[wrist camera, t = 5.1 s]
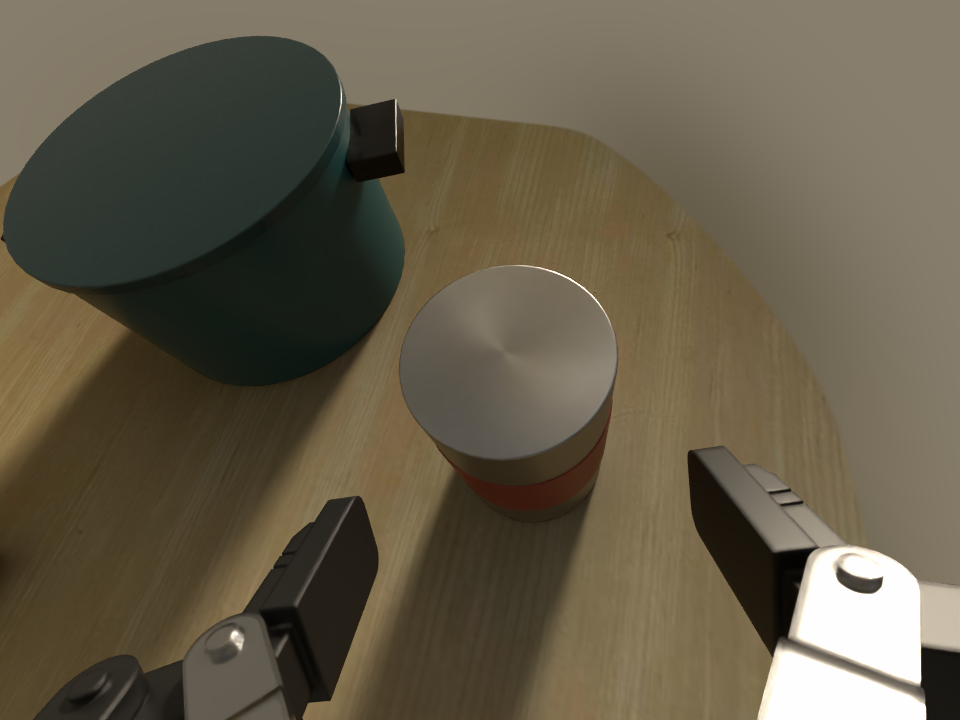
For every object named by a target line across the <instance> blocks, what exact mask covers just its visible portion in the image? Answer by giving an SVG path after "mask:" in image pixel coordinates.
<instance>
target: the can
mask: <svg viewBox="0 0 960 720" xmlns="http://www.w3.org/2000/svg"><path fill="white" fill-rule="evenodd" d="M617 366H618V346H617V341H616V336H615V332H614V330H613V327H612V324H611V322H610V320H609V318H608V316H607V314H606V312H605V311H604V309H603V308H602V306H601V305H600V304H599V302H598V301H597V300H596V299H595V298H594V297H593V296H592V295H591V294H590V293H589V292H588V291H587V290H586V289H584V288H583V287H582V286H581V285H579V284H578V283H576V282H575V281H573V280H571V279H570V278H568V277H566V276H564V275H561V274H559V273H557V272H554V271H551V270H547V269H544V268H539V267H533V266H524V265H506V266H498V267H492V268H487V269H483V270H480V271H477V272H474V273H471V274H468V275H466V276H464V277H462V278H460V279H458V280H456V281H454V282H452V283H451V284H449V285H448V286H446V287H445V288H443V289H442V290H441V291H439V292H438V293H437V294H435V295H434V296H433V297H432V298H431V299H430V300H429V301H428V302H427V303H426V304H425V305H424V307H423V308H422V309H421V310H420V311H419V313H418V314H417V316H416V317H415V319H414V320H413V322H412V323H411V325H410V327H409V330H408V332H407V334H406V336H405V339H404V342H403V345H402V350H401V355H400V363H399V376H400V385H401V389H402V393H403V397H404V399H405V402H406V404H407V407H408V409H409V410H410V412H411V414H412V415H413V417H414V419H415V420H416V421H417V422H418V424H419V425H420V426H421V427H422V429H423V430H424V431H425V432H426V433H427V435H428V436H429V437H430V438H431V439H432V441H433V442H434V443H435V444H436V446H437V448H438V449H439V451H440V452H441V453H442V455H443V456H444V457H445V458H446V460H447V461H448V462H449V463H450V464H451V465H452V467H453V468H454V469H455V470H456V471H457V472H458V474H459V475H460V476H461V477H462V478H463V480H464V481H465V482H466V483H467V484H468V485H469V486H470V487H471V488H472V489H473V490H474V491H475V492H476V493H477V494H478V495H479V497H480V498H481V499H482V500H483V501H484V502H485V503H486V504H487V505H488V506H489V507H491V508H492V509H494V510H495V511H496V512H498V513H500V514H502V515H504V516H506V517H509V518H512V519H515V520H520V521H526V522H540V521H546V520H551V519H554V518H557V517H560V516H562V515H564V514H566V513H568V512H569V511H571V510H572V509H574V508H575V507H577V506H578V505H579V504H580V503H581V502H582V501H583V500H584V499H585V497H586V496H587V495H588V494H589V492H590V491H591V489H592V487H593V486H594V483H595V481H596V479H597V476H598V473H599V469H600V464H601V460H602V456H603V452H604V449H605V443H606V438H607V433H608V427H609V422H610V417H611V410H612V397H613V391H614V385H615V380H616V374H617Z"/></svg>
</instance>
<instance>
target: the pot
mask: <svg viewBox="0 0 960 720" xmlns="http://www.w3.org/2000/svg"><path fill="white" fill-rule="evenodd" d="M404 172H405V168H404V123H403V117H402V114H401V111H400V108H399V105H398V103H397V100H396V99H393V100H389V101H384V102H380V103H376V104H371V105H367V106H363V107H358V108H354V109H351V110H350V115H349V113H348V111H347V109H346V96H345V92H344V88H343V85H342V82H341V80H340V78H339V76H338V74H337V72H336V70H335V68H334V66H333V65H332V64H331V63H330V62H329V60H328V59H327V58H326V57H325V56H324V55H322V54H321V53H320V52H319V51H317V50H316V49H314V48H312V47H310V46H308V45H306V44H304V43H301V42H298V41H295V40H291V39H287V38H280V37H272V36H249V37H238V38H231V39H224V40H219V41H215V42H210V43H206V44H202V45H199V46H195V47H192V48H189V49H186V50H183V51H180V52H177V53H175V54H172V55H169V56H167V57H165V58H162V59H160V60H157V61H155V62H153V63H151V64H149V65H147V66H145V67H143V68H141V69H139V70H137V71H135V72H133V73H131V74H129V75H128V76H126V77H124V78H122V79H121V80H119V81H117V82H115V83H114V84H112V85H111V86H109V87H108V88H106V89H105V90H103V91H102V92H100V93H98V94H97V95H96V96H95V97H93V98H92V99H91V100H89V101H88V102H86V103H85V104H84V105H82V106H81V107H80V108H79V109H77V110H76V111H75V112H74V113H73V114H71V115H70V116H69V117H68V118H67V119H66V120H65V121H64V122H62V123H61V124H60V126H58V127H57V128H56V130H54V131H53V132H52V133H51V134H50V135H49V136H48V138H47V139H46V140H45V141H44V142H43V143H42V144H41V145H40V147H39V148H38V149H37V150H36V152H35V153H34V154H33V155H32V157H31V158H30V159H29V161H28V162H27V164H26V165H25V167H24V168H23V170H22V172H21V173H20V175H19V176H18V178H17V180H16V182H15V184H14V186H13V189H12V191H11V193H10V196H9V199H8V202H7V205H6V208H5V214H4V221H3V230H4V233H3V235H2V237H1V240H2V241H4V242H5V243H6V246H7V249H8V252H9V253H10V255H11V256H12V258H13V260H14V261H15V263H16V264H17V265H18V266H19V267H20V268H22V269H23V270H24V271H25V272H26V273H27V274H29V275H30V276H32V277H34V278H35V279H37V280H39V281H41V282H42V283H44V284H46V285H48V286H50V287H52V288H55V289H58V290H61V291H65V292H68V293H73V294H75V295H76V296H78V297H80V298H81V299H83V300H84V301H86V302H88V303H89V304H91V305H92V306H94V307H95V308H97V309H99V310H100V311H102V312H103V313H105V314H107V315H108V316H110V317H111V318H113V319H115V320H116V321H118V322H119V323H121V324H122V325H124V326H126V327H127V328H129V329H130V330H132V331H134V332H135V333H137V334H138V335H140V336H141V337H143V338H145V339H146V340H148V341H149V342H151V343H153V344H154V345H156V346H157V347H159V348H161V349H162V350H164V351H165V352H167V353H168V354H170V355H172V356H173V357H175V358H176V359H178V360H180V361H181V362H183V363H184V364H186V365H187V366H189V367H191V368H192V369H194V370H195V371H197V372H199V373H200V374H202V375H204V376H206V377H208V378H210V379H213V380H216V381H218V382H221V383H226V384H232V385H238V386H259V385H268V384H274V383H279V382H283V381H287V380H291V379H294V378H296V377H299V376H302V375H305V374H307V373H309V372H312V371H314V370H316V369H318V368H320V367H322V366H324V365H326V364H327V363H329V362H330V361H332V360H334V359H335V358H337V357H339V356H340V355H341V354H343V353H344V352H345V351H347V350H348V349H349V348H351V347H352V346H353V345H354V344H355V343H357V342H358V341H359V340H360V339H361V338H362V337H363V336H364V335H365V334H366V333H367V332H368V331H369V330H370V329H371V328H372V326H373V325H374V324H375V323H376V322H377V321H378V319H379V318H380V317H381V315H382V314H383V312H384V311H385V309H386V308H387V306H388V305H389V303H390V301H391V299H392V297H393V295H394V293H395V292H396V289H397V286H398V284H399V281H400V278H401V274H402V269H403V265H404V252H405V249H404V239H403V235H402V231H401V228H400V225H399V223H398V221H397V219H396V216H395V214H394V212H393V210H392V208H391V205H390V203H389V201H388V199H387V197H386V194H385V192H384V190H383V188H382V186H381V183H380V181H379V179H378V178H382V177H387V176H392V175H396V174H401V173H404Z"/></svg>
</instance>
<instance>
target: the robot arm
mask: <svg viewBox="0 0 960 720" xmlns="http://www.w3.org/2000/svg"><path fill="white" fill-rule="evenodd" d="M688 473H689V486H690V499H691V510H692V516H693V520H694V523H695V526H696V529H697V532H698V534H699V536H700V537H701V539H702V541H703V542H704V544H705V546H706V547H707V549H708V551H709V552H710V554H711V556H712V557H713V559H714V561H715V562H716V564H717V566H718V567H719V569H720V571H721V572H722V574H723V576H724V577H725V579H726V581H727V582H728V584H729V586H730V587H731V589H732V591H733V592H734V594H735V596H736V597H737V599H738V601H739V602H740V604H741V606H742V607H743V609H744V611H745V612H746V614H747V616H748V617H749V619H750V621H751V622H752V624H753V626H754V627H755V629H756V631H757V632H758V634H759V636H760V637H761V639H762V641H763V642H764V644H765V646H766V647H767V649H768V651H769V652H770V654H771V656H772V657H773V661H772V665H771V669H770V673H769V676H768V680H767V684H766V688H765V691H764V695H763V699H762V703H761V706H760V710H759V714H758V718H757V720H960V585H953V584H944V583H935V582H927V581H921V580H916V579H915V578H914V576H913V575H912V574H911V573H910V572H909V571H908V570H907V569H906V568H905V567H904V566H902V565H901V564H899V563H898V562H896V561H895V560H893V559H891V558H889V557H887V556H885V555H883V554H881V553H878V552H875V551H873V550H870V549H866V548H862V547H857V546H851V545H848V544H847V543H846V542H845V541H844V540H843V539H842V538H841V537H840V536H839V535H838V534H837V533H836V532H835V531H834V530H833V529H832V528H831V527H830V526H829V525H828V524H827V523H826V522H825V521H823V520H822V519H821V518H820V517H819V516H818V515H817V514H816V513H815V512H814V511H813V510H812V509H811V508H810V507H809V506H808V505H807V504H804V503H803V500H802V499H801V498H800V497H799V496H798V495H796V494H795V493H794V492H791V489H790V488H789V487H788V486H787V485H786V484H785V483H784V482H783V481H782V480H781V479H780V478H779V477H778V476H777V475H776V474H774V473H771V472H769V471H767V470H765V469H763V468H761V467H759V466H757V465H755V464H748V465H742V464H741V463H740V462H739V461H738V460H737V459H736V458H735V457H734V456H733V455H732V453H731V452H730V451H729V450H728V449H727V448H726V447H724V446H717V447H710V448H703V449H696V450H690V451H689V452H688ZM377 571H378V549H377V545H376V542H375V538H374V535H373V531H372V528H371V525H370V521H369V518H368V515H367V511H366V508H365V505H364V502H363V500H362V498H361V497H359V496H353V497H346V498H339V499H332V500H329V501H327V503H326V504H325V506H324V507H323V509H322V511H321V512H320V514H319V515H318V517H317V519H316V520H315V522H311V523H309V524H307V525H306V526H305V527H304V528H303V529H302V530H301V531H299V532H298V533H297V534H296V535H295V536H294V537H293V538H292V539H291V541H290V542H289V544H288V545H287V547H286V548H285V550H284V551H283V552H282V556H280V557H279V558H278V560H277V561H276V563H275V564H274V569H271V570H270V572H269V573H268V575H267V576H266V578H265V579H264V581H263V582H262V584H261V585H260V587H259V588H258V590H257V591H256V593H255V594H254V596H253V597H252V599H251V600H250V602H249V603H248V605H247V606H246V608H245V609H244V611H243V612H242V613H240V614H236V615H233V616H230V617H228V618H226V619H224V620H222V621H220V622H218V623H216V624H215V625H213V626H212V627H210V628H209V629H208V630H206V631H205V632H204V633H203V634H201V635H200V636H199V637H198V638H197V639H196V640H195V642H194V643H193V644H192V645H191V646H190V648H189V649H188V651H187V653H186V655H185V657H184V659H183V660H180V661H177V662H175V663H172V664H169V665H166V666H164V667H161V668H158V669H156V670H153V671H150V672H147V673H145V674H144V673H143V671H142V669H141V667H140V665H139V663H138V661H137V659H136V658H135V657H134V656H131V655H119V656H115V657H111V658H108V659H106V660H103V661H101V662H99V663H97V664H95V665H93V666H91V667H90V668H88V669H86V670H85V671H83V672H82V673H80V674H79V675H77V676H76V677H75V678H73V679H72V680H71V681H69V682H68V683H67V684H66V685H65V686H64V687H63V688H61V689H60V690H59V691H58V692H57V693H56V694H55V696H54V697H53V698H52V699H51V700H50V701H49V702H48V703H47V704H46V706H45V707H44V708H43V709H42V710H41V711H40V712H39V713H38V714H37V716H36V717H35V718H34V719H33V720H303V718H302V716H303V714H304V712H305V709H306V707H307V704H308V703H311V702H322V701H331V698H332V695H333V693H334V690H335V687H336V684H337V682H338V679H339V676H340V673H341V671H342V668H343V665H344V662H345V660H346V657H347V654H348V651H349V649H350V646H351V643H352V640H353V638H354V635H355V632H356V630H357V627H358V624H359V621H360V619H361V616H362V613H363V610H364V608H365V605H366V602H367V599H368V597H369V594H370V591H371V588H372V586H373V583H374V580H375V577H376V575H377Z"/></svg>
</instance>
